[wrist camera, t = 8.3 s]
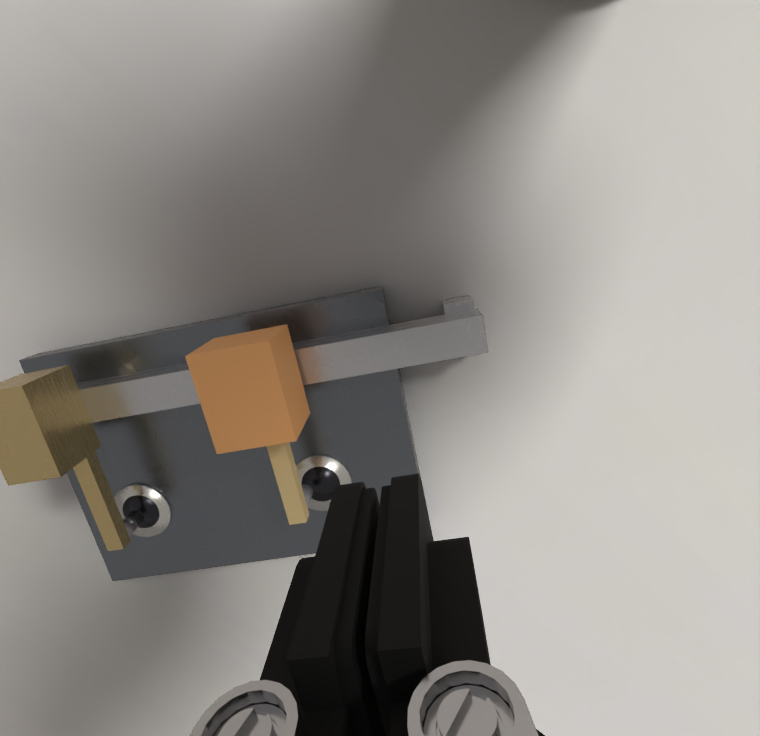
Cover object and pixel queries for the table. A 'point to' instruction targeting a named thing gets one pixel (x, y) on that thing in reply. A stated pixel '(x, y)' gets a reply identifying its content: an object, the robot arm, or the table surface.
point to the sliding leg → (256, 403)
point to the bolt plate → (193, 440)
